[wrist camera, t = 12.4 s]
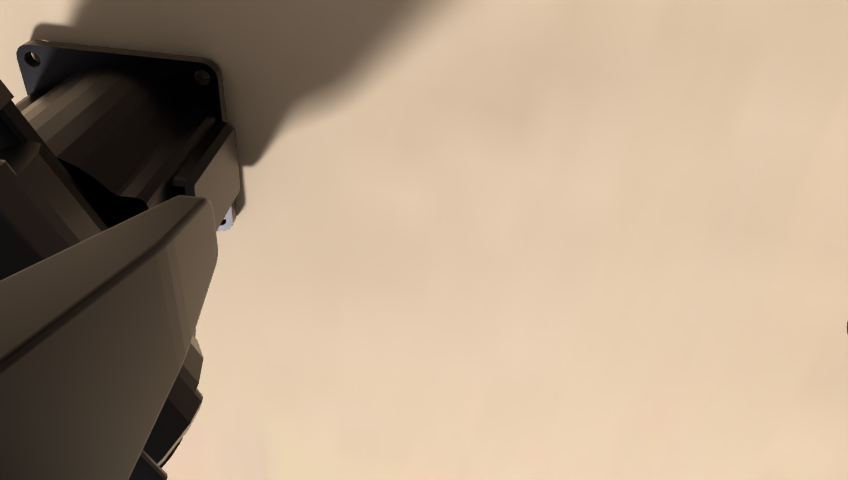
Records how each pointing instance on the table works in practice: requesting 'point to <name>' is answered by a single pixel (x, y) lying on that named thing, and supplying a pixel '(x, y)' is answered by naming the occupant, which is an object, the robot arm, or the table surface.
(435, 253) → the table surface
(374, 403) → the table surface
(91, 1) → the table surface
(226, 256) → the table surface
